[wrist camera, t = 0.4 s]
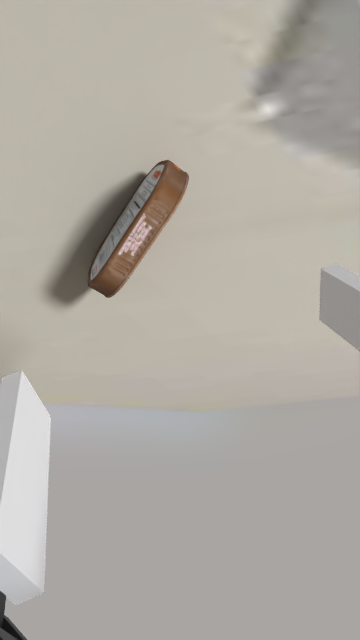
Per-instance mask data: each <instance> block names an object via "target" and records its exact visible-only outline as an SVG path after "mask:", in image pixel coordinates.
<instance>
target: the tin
mask: <svg viewBox="0 0 360 640" xmlns="http://www.w3.org/2000/svg"><path fill="white" fill-rule="evenodd" d="M188 180H189V176H188V174H187V173H186V172H183V171H182V170H181V169H180V168H178V167H177V166H176V165H175V164H174V163H172V162H171V161H169V160H165V161H161V162H159V163H158V164H157V165H156V166H155V167H154V168H153V169H152V170H151V171H150V172H149V173H148V175H147V176H146V177H145V179H144V180H143V181H142V183H141V184H140V186H139V187H138V189H137V190H136V192H135V193H134V195H133V196H132V198H131V199H130V201H129V203H128V204H127V206H126V207H125V209H124V210H123V212H122V213H121V215H120V216H119V218H118V219H117V221H116V222H115V224H114V226H113V227H112V229H111V230H110V232H109V234H108V235H107V237H106V238H105V240H104V242H103V243H102V245H101V247H100V249H99V250H98V252H97V254H96V256H95V258H94V260H93V262H92V264H91V267H90V269H89V278H88V286H89V287H91V288H92V289H94V290H96V291H98V292H100V293H101V294H103V295H104V296H105V297H107V298H110V297H112V296H113V295H115V294H116V293H117V292H118V291H119V290H120V289H121V288H122V287H123V285H124V284H125V283H126V281H127V280H128V279H129V277H130V276H131V274H132V273H133V272H134V270H135V269H136V267H137V266H138V264H139V263H140V261H141V260H142V258H143V257H144V255H145V254H146V253H147V251H148V250H149V248H150V247H151V245H152V244H153V242H154V241H155V239H156V238H157V237H158V235H159V234H160V232H161V231H162V229H163V228H164V226H165V225H166V224H167V222H168V221H169V219H170V218H171V216H172V215H173V213H174V212H175V210H176V209H177V207H178V205H179V203H180V201H181V200H182V197H183V195H184V193H185V190H186V188H187V185H188Z"/></svg>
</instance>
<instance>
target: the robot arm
mask: <svg viewBox="0 0 360 640" xmlns="http://www.w3.org/2000/svg"><path fill="white" fill-rule="evenodd" d="M319 320H321V321H322V322H323V323H324V324H326V325H327V326H328V327H329V328H331V329H332V330H333V331H334V332H336V333H337V334H338V335H340V336H341V337H342V338H343V339H345V340H346V341H347V342H348V343H350V344H351V345H352V346H354V347H355V348H356V349H357V350H359V351H360V276H359V275H357V274H355V273H353V272H351V271H350V270H348V269H346V268H344V267H342V266H340V265H338V264H333V265H330V266H327V267H324V268H321V282H320V318H319ZM50 425H51V417H50V415H49V413H48V412H47V410H46V409H45V407H44V405H43V404H42V402H41V400H40V399H39V397H38V396H37V394H36V392H35V391H34V389H33V387H32V386H31V384H30V383H29V381H28V379H27V378H26V376H25V375H24V373H23V371H22V370H21V371H19V372H16V373H13V374H10V375H7V376H4V377H2V379H1V384H0V640H27V639H26V638H25V637H24V636H23V634H22V633H21V632H20V631H19V630H18V629H17V628H16V626H15V625H14V624H13V623H12V622H11V621H10V620H9V618H8V617H6V616H5V615H4V610H5V600H6V598H8V599H9V600H10V601H11V602H13V603H14V604H15V605H17V604H19V603H22V602H24V601H26V600H29V599H31V598H33V597H36V596H38V595H40V594H43V593H44V581H45V556H46V530H47V501H48V477H49V451H50Z"/></svg>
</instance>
